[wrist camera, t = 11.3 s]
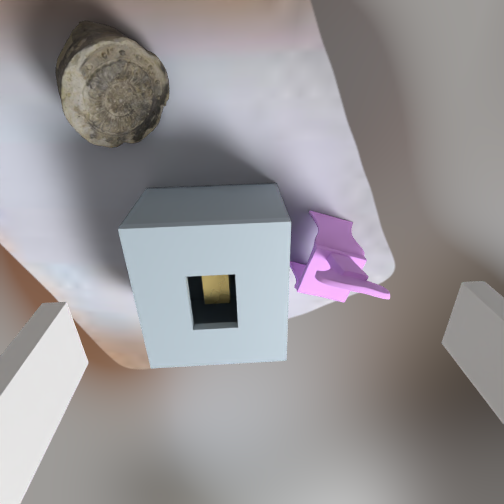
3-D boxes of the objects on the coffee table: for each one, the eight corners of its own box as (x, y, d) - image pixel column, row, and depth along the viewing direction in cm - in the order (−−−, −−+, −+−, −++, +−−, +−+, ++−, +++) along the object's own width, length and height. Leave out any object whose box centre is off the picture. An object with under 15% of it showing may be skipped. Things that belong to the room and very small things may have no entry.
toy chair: (280, 264, 48) (298, 339, 35) (302, 208, 44) (332, 268, 31) (333, 276, 49) (370, 353, 36) (359, 224, 45) (411, 287, 32)
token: (205, 236, 44) (200, 268, 37) (228, 235, 44) (227, 266, 37) (208, 268, 47) (204, 304, 40) (230, 267, 47) (230, 302, 40)
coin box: (146, 188, 41) (117, 229, 31) (276, 183, 42) (291, 221, 31) (167, 305, 50) (150, 368, 39) (274, 299, 51) (286, 360, 40)
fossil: (168, 151, 39) (99, 165, 31) (108, 129, 41) (29, 136, 33) (178, 43, 34) (98, 24, 25) (108, 25, 36) (14, 2, 28)
